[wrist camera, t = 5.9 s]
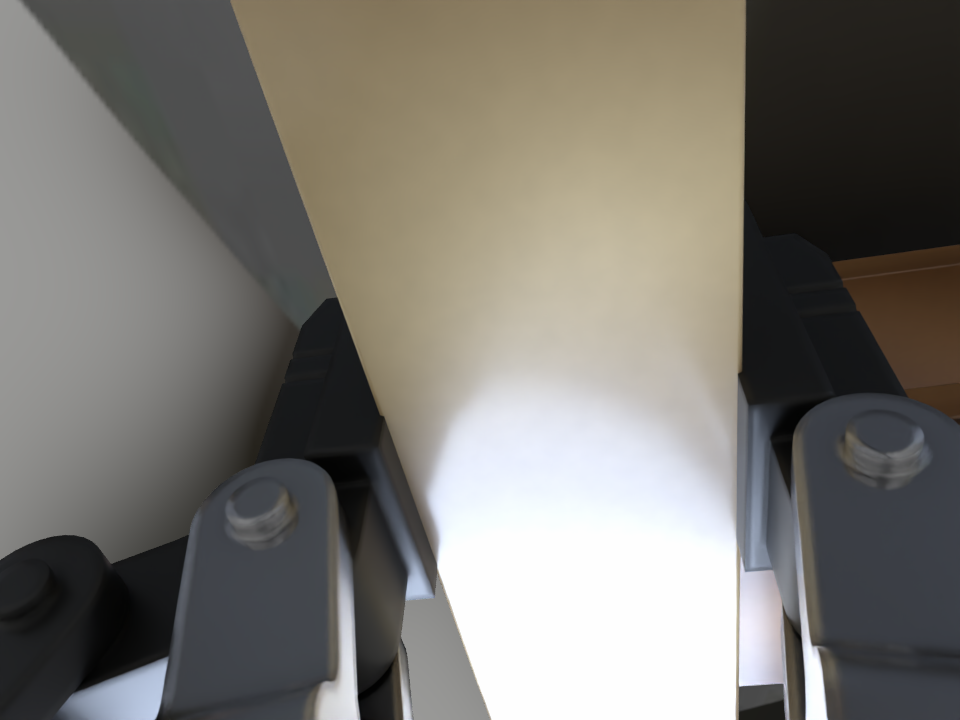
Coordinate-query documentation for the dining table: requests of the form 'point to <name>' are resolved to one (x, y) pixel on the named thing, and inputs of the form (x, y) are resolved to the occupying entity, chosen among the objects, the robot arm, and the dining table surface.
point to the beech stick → (543, 317)
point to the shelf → (919, 368)
